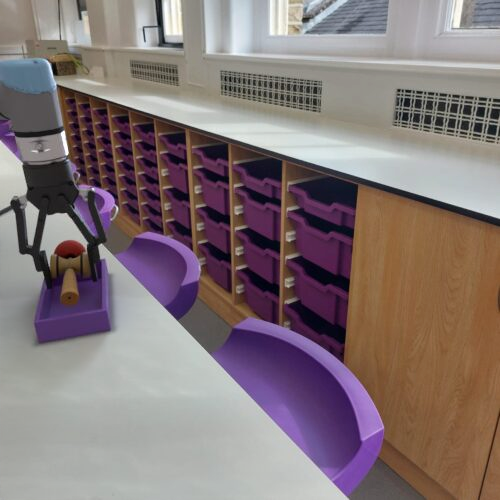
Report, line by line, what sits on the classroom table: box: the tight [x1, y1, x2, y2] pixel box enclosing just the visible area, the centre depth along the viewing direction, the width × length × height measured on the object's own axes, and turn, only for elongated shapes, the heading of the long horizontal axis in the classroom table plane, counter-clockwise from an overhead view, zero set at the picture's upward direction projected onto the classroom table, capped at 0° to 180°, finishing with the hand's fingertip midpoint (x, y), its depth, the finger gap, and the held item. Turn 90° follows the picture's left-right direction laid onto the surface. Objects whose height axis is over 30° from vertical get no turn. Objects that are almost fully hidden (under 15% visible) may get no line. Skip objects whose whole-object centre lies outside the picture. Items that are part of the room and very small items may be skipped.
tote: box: [33, 258, 112, 344], centre depth 91 cm, size 22×12×5 cm, turn 16°
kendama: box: [49, 239, 90, 306], centre depth 89 cm, size 8×6×18 cm
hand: (72, 281), depth 89 cm, fingers closed on kendama, 7 cm apart
